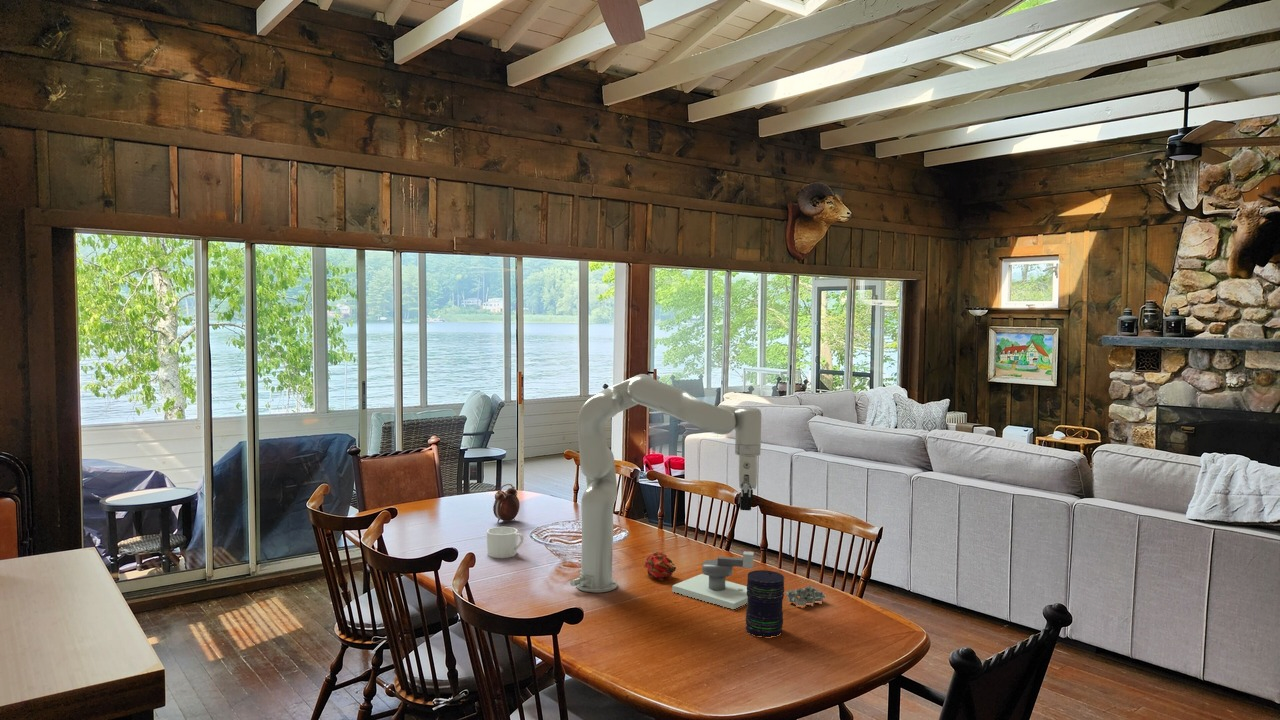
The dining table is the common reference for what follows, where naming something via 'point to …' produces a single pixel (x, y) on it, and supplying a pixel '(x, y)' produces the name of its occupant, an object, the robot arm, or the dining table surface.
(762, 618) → the storage jar
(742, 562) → the grey lever knob
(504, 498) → the alarm clock
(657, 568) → the dragon fruit
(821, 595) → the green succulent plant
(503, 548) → the mug
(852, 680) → the dining table surface
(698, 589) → the base
